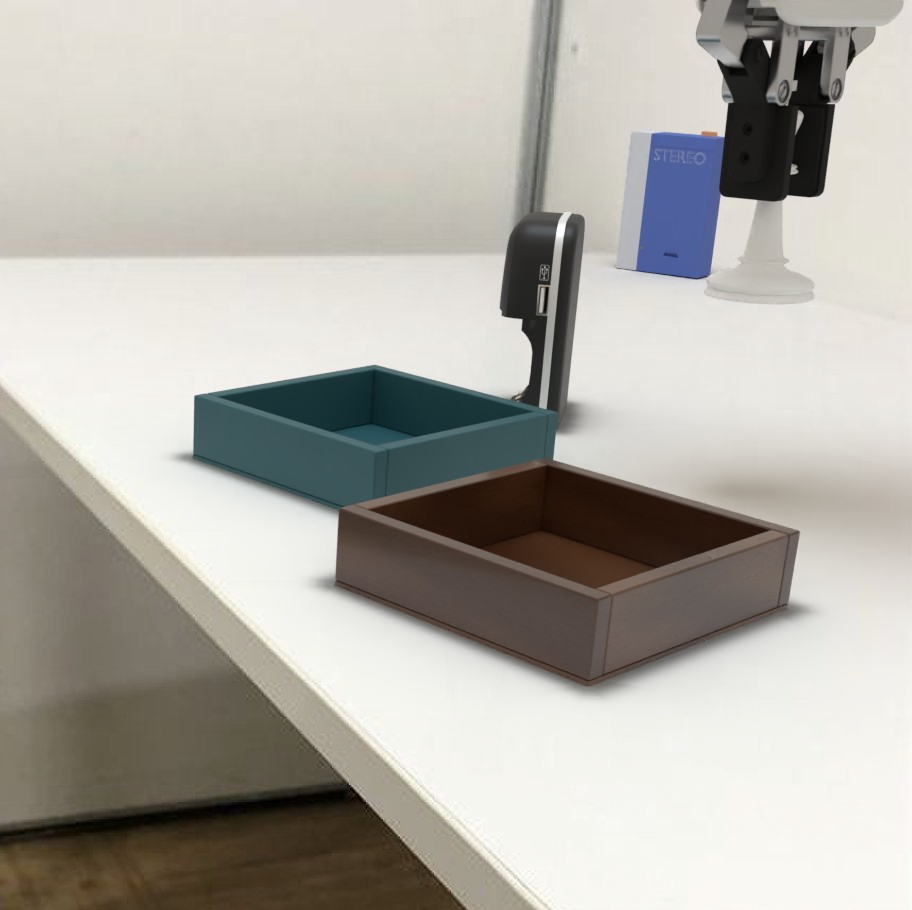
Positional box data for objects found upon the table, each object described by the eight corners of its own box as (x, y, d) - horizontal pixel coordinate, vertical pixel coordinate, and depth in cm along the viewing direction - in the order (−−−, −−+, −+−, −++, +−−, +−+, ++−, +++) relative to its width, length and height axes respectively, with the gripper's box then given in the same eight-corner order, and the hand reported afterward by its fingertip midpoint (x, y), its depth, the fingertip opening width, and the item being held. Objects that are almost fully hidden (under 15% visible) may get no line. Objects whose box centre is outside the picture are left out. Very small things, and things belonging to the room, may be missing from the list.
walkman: (710, 275, 142) (729, 132, 137) (697, 278, 140) (716, 134, 135) (628, 264, 146) (644, 125, 142) (614, 267, 144) (630, 127, 140)
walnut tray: (537, 535, 72) (545, 457, 71) (786, 617, 63) (801, 530, 62) (333, 594, 64) (338, 507, 63) (586, 697, 56) (598, 599, 54)
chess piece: (683, 295, 74) (707, 64, 71) (735, 284, 78) (760, 63, 74) (783, 308, 71) (813, 68, 68) (833, 296, 75) (864, 66, 71)
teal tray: (371, 429, 88) (374, 364, 87) (551, 483, 80) (558, 412, 78) (192, 465, 80) (193, 395, 79) (371, 530, 72) (375, 451, 71)
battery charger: (501, 404, 95) (519, 204, 91) (566, 410, 94) (587, 208, 90) (485, 432, 89) (503, 219, 84) (555, 439, 88) (577, 224, 83)
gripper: (801, -305, 59) (742, 217, 65) (1005, -255, 69) (936, 193, 75) (631, -280, 64) (593, 200, 70) (844, -237, 74) (793, 180, 80)
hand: (771, 193), depth 73 cm, fingers closed on chess piece
